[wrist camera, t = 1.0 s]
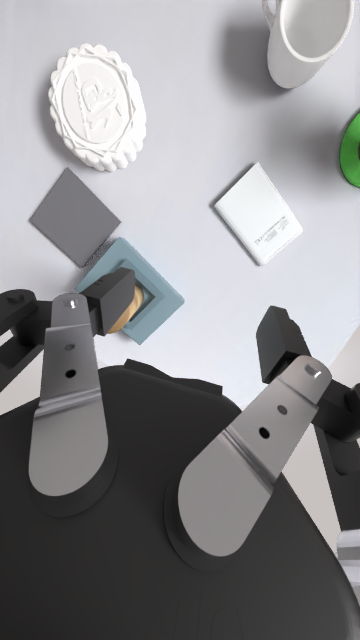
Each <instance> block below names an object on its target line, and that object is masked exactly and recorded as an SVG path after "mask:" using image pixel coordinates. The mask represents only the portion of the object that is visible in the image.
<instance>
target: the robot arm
mask: <svg viewBox="0 0 360 640" xmlns="http://www.w3.org/2000/svg"><path fill="white" fill-rule="evenodd" d="M134 294H135V271H134V270H132V269H128V268H124V267H120V268H119V269H117V270H116V271H115V272H114V273H108V274H105V275H103V276H101V277H100V278H99V279H98V280H96V281H95V282H94V283H93V284H91V285H90V286H88V287H87V288H86V289H84V290H83V291H82V292H80V293H79V294H77V293H67V294H63V295H60V296H58V297H56V298H55V299H54V300H53V301H37V300H36V297H35V294H34V293H33V292H32V291H30V290H25V289H16V290H10V291H6V292H4V293H1V294H0V336H1V335H2V334H4V333H5V332H6V331H8V330H9V329H10V330H11V332H12V334H13V337H12V338H10V339H9V340H8V341H7V342H5V343H4V344H3V345H2V346H0V392H1V391H2V390H3V389H4V388H5V387H6V386H7V385H8V384H9V383H10V382H11V381H12V380H13V379H14V378H15V377H16V376H17V375H18V374H19V373H20V372H21V371H22V370H23V369H24V368H25V367H26V366H27V365H28V364H29V363H30V362H31V361H32V360H33V359H34V358H35V357H36V356H37V355H38V354H39V353H40V352H41V351H42V350H43V349H44V355H43V367H42V379H41V391H40V397H38V398H36V399H34V400H32V401H30V402H28V403H26V404H24V405H21V406H19V407H17V408H15V409H13V410H11V411H9V412H7V413H5V414H2V415H0V640H360V448H359V445H358V443H357V440H356V439H358V438H360V383H358V384H356V385H355V386H354V387H353V388H349V387H347V386H345V385H343V384H341V383H339V382H337V381H335V380H333V379H332V375H331V373H330V371H329V370H328V368H327V367H326V366H325V365H324V364H323V363H321V362H320V361H318V360H317V359H315V358H312V356H311V354H310V352H309V349H308V347H307V345H306V342H305V340H304V337H303V335H301V334H302V333H301V330H300V328H299V326H298V325H297V324H296V323H295V322H294V321H293V320H291V319H290V318H289V316H288V313H287V310H286V309H284V308H280V307H276V306H270V307H269V308H268V310H267V312H266V314H265V316H264V317H263V319H262V321H261V323H260V325H259V327H258V329H257V333H256V339H257V346H258V353H259V361H260V368H261V376H262V382H263V383H266V384H269V385H268V386H267V387H266V388H265V389H264V390H263V391H262V392H261V393H260V394H259V395H258V396H257V397H256V398H255V399H254V400H253V401H252V402H251V403H250V404H249V405H248V407H247V408H246V409H245V410H244V411H243V412H242V411H241V409H240V408H239V407H238V406H237V405H236V404H235V403H234V402H232V401H231V400H230V399H228V398H227V397H226V396H224V395H222V387H223V386H220V385H216V384H213V383H209V382H206V381H203V380H199V379H186V378H173V377H170V376H169V375H167V374H165V373H163V372H162V371H160V370H158V369H156V368H154V367H153V366H151V365H148V364H145V363H141V362H138V361H134V360H131V359H127V360H126V362H125V364H124V365H115V366H108V367H104V368H101V369H98V365H97V359H96V352H95V346H94V340H93V337H94V336H95V335H96V334H97V335H101V336H105V335H106V334H107V333H108V331H109V330H110V329H111V328H112V326H113V325H114V324H115V323H116V321H117V320H118V319H119V318H120V316H121V315H122V314H123V313H124V312H125V310H126V309H127V308H128V307H129V305H130V304H131V303H132V301H133V299H134ZM310 423H312V424H313V425H314V428H315V432H316V436H317V440H318V444H319V448H320V452H321V456H322V459H323V463H324V467H325V471H326V475H327V479H328V483H329V486H330V490H331V494H332V498H333V502H334V505H335V509H336V513H337V517H338V521H339V524H340V528H341V533H340V534H339V535H338V538H337V552H336V553H335V554H334V553H333V551H332V550H331V548H330V547H329V545H328V544H327V542H326V541H325V539H324V537H323V536H322V534H321V533H320V531H319V530H318V528H317V526H316V525H315V523H314V522H313V520H312V519H311V517H310V515H309V514H308V512H307V511H306V510H305V508H304V506H303V505H302V503H301V501H300V500H299V499H298V497H297V495H296V494H295V492H294V491H293V489H292V487H291V486H290V484H289V483H288V481H287V480H286V478H285V476H284V475H283V474H282V472H281V471H282V469H283V467H284V466H285V464H286V463H287V461H288V459H289V457H290V456H291V454H292V452H293V451H294V449H295V447H296V446H297V444H298V443H299V441H300V439H301V438H302V436H303V434H304V432H305V431H306V429H307V428H308V426H309V424H310Z"/></svg>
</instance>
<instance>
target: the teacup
mask: <svg viewBox="0 0 360 640" xmlns="http://www.w3.org/2000/svg"><path fill="white" fill-rule="evenodd" d="M262 8H263V12H264V16H265V19H266V21H267V24H268V26H269V29H270V33H271V34H270V38H269V43H268V52H267V60H268V68H269V72H270V75H271V77H272V79H273V80H274V82H275V83H276V84H278V85H279V86H281V87H283V88H295V87H298V86H301V85H303V84H304V83H306V82H307V81H309V80H310V79H311V78H312V77H313V76H314V75H315V74H316V73H317V72H318V71H319V70H320V69H321V68H322V66H323V65H324V64H325V63H326V62H327V60H328V59H329V58H330V57H331V56H332V55H333V53H334V52H335V51H336V50H337V49H338V47H339V46H340V45H341V43H342V42H343V40H344V39H345V37H346V35H347V33H348V30H349V28H350V25H351V22H352V17H353V12H354V0H276V13H275V16H274V15H273V14H272V13H271V12H270V10H269V8H268V4H267V0H262Z"/></svg>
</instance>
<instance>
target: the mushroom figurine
mask: <svg viewBox="0 0 360 640" xmlns="http://www.w3.org/2000/svg"><path fill="white" fill-rule="evenodd" d="M340 164H341V168H342V171H343V173H344V175H345V177H346V178H347V180H348V181H349V182H350V183H352V184H353V185H355V186H357V187H360V112H359V113H358V114H357V116H356V117H355V118H354V119H353V121H352V122H351V123H350V125H349V127H348V128H347V130H346V132H345V135H344V137H343V140H342V144H341V149H340Z"/></svg>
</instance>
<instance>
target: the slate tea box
mask: <svg viewBox="0 0 360 640" xmlns="http://www.w3.org/2000/svg"><path fill="white" fill-rule="evenodd" d="M120 267H124V268H128V269H132V270H134V271H135V283H137V284H138V285H139V286H140V287H141V288H142V289H143V292H144V301H143V303H142V305H141V306H140V307H139V308H138V310H137V311H136V312H135V313H134V314H133V316H132V317H131V318H130V319H129V320H128V322H127V323H126V324H125V325H124V326H123V328H122V329H121V330H123V331H124V332H125V333H126V334H127V335H128V336H129V337H131V338H132V339H133V340H134V341H135V342H136V343H137V344H139V345H141V344H142V343H143V342H144V341H145V340H146V339H147V338H148V337H149V336H150V335H151V334H152V333H153V332H154V331H155V330H156V329H157V328H158V327H159V326H160V325H161V324H163V323H164V322H165V321H166V320H167V319H168V318H169V317H170V316H171V315H172V314H173V313H174V312H175V311H176V310H177V309H178V308H179V307H180V306H181V305H182V304H183V303H184V299H183V298H182V297H181V296H180V294H179V293H178V292H177V291H176V290H175V289H174V288H173V287H172V286H171V285H170V284H169V283H168V282H167V281H166V280H165V279H164V278H163V277H162V276H161V275H160V274H159V273H158V272H157V271H156V270H155V269H154V268H153V267H152V266H151V265H150V264H149V263H148V262H147V261H146V260H145V259H144V258H143V257H142V256H141V255H140V254H139V253H138V252H137V251H136V250H135V249H134V248H133V247H132V246H131V245H130V244H129V243H128V242H127V241H126V240H125V239H124V238H121V237H119V238H118V239H117V240H116V241H115V242H114V243H113V245H112V246H111V247H110V248H109V249H108V250H107V252H106V253H105V254H104V255H103V256H102V257H101V259H100V260H99V261H98V262H97V263H96V264H95V266H94V267H93V268H92V269H91V270H90V271H89V273H88V274H87V275H86V276H85V277H84V278H83V280H82V281H81V282H80V283H79V284H78V285H77V287H76V288H75V289H76V290H77V291H78V292H79V293H80V292H82V291H83V290H84V289H86V288H87V287H88V286H90V285H91V284H93V283H94V282H95V281H96V280H98V279H99V278H100V277H101V276H103V275H105V274H108V273H114V272H115V271H116V270H117V269H119V268H120Z"/></svg>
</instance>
